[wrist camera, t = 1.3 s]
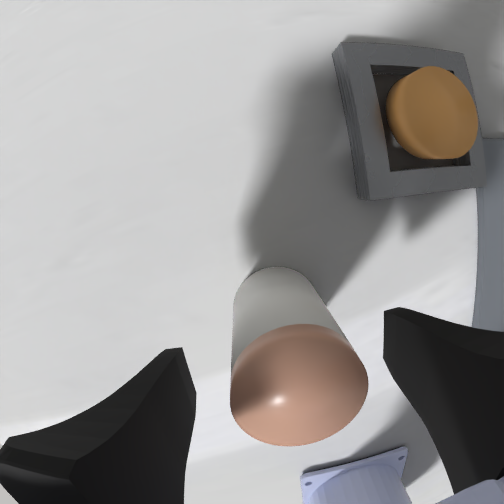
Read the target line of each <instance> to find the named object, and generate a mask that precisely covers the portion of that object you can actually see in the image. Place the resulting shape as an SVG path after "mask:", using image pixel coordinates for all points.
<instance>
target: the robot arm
mask: <svg viewBox="0 0 504 504" xmlns="http://www.w3.org/2000/svg"><path fill="white" fill-rule="evenodd" d="M383 359H384V361H385V363H386V365H387V367H388V369H389V371H390V373H391V375H392V377H393V379H394V380H395V382H396V383H397V385H398V386H399V388H400V389H401V390H402V392H403V393H404V395H405V396H406V397H407V399H408V400H409V402H410V403H411V405H412V406H413V407H414V409H415V410H416V412H417V413H418V414H419V416H420V417H421V419H422V421H423V422H424V424H425V425H426V427H427V429H428V431H429V433H430V435H431V437H432V439H433V441H434V443H435V445H436V448H437V450H438V452H439V455H440V457H441V459H442V462H443V464H444V466H445V469H446V472H447V475H448V477H449V480H450V483H451V486H452V489H453V492H454V495H453V496H451V497H448V498H446V499H444V500H442V501H440V502H438V503H436V504H504V332H501V331H491V330H485V329H478V328H473V327H468V326H464V325H460V324H456V323H452V322H449V321H445V320H442V319H439V318H435V317H432V316H429V315H426V314H423V313H420V312H416V311H413V310H410V309H406V308H401V307H397V308H394V309H390V310H386V311H384V349H383ZM195 414H196V390H195V387H194V384H193V381H192V378H191V375H190V372H189V368H188V365H187V362H186V359H185V356H184V352H183V349H182V347H181V348H172V349H165V350H164V351H163V352H161V353H160V354H159V355H158V356H157V357H155V358H154V359H153V360H152V361H151V362H150V363H149V364H148V365H147V366H146V367H144V368H143V369H142V370H141V371H140V372H139V373H138V374H137V375H135V376H134V377H133V378H132V379H131V380H129V381H128V382H127V383H126V384H124V385H123V386H122V387H121V388H119V389H118V390H117V391H116V392H114V393H113V394H112V395H110V396H109V397H107V398H106V399H104V400H103V401H101V402H100V403H98V404H96V405H95V406H93V407H91V408H90V409H88V410H86V411H84V412H82V413H80V414H78V415H76V416H74V417H72V418H70V419H68V420H65V421H63V422H61V423H58V424H56V425H53V426H50V427H47V428H44V429H41V430H38V431H34V432H30V433H26V434H22V435H17V436H12V437H9V438H8V439H7V441H6V442H5V444H4V445H3V446H2V448H1V449H0V483H1V485H2V486H3V487H4V488H5V489H6V490H7V492H8V493H9V494H10V495H11V496H12V497H13V498H14V499H15V500H16V501H17V502H18V503H19V504H184V482H185V470H186V463H187V457H188V452H189V447H190V442H191V437H192V432H193V426H194V421H195ZM407 454H408V449H407V448H406V447H400V448H397V449H394V450H391V451H388V452H385V453H382V454H379V455H376V456H373V457H369V458H366V459H363V460H359V461H355V462H352V463H348V464H344V465H340V466H336V467H332V468H327V469H323V470H318V471H314V472H309V473H305V474H303V475H302V476H301V477H300V480H301V488H302V495H303V503H304V504H412V502H411V500H410V498H409V496H408V494H407V491H406V489H405V487H404V485H403V483H402V481H401V477H402V473H403V470H404V466H405V462H406V458H407Z"/></svg>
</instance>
